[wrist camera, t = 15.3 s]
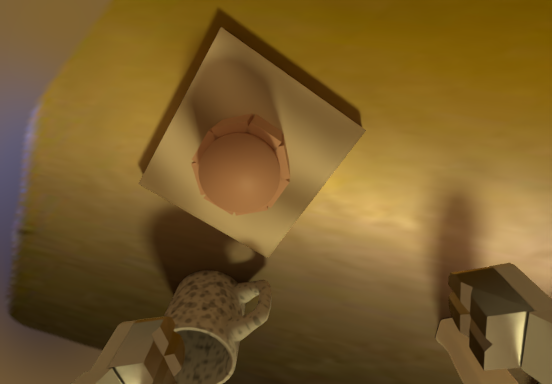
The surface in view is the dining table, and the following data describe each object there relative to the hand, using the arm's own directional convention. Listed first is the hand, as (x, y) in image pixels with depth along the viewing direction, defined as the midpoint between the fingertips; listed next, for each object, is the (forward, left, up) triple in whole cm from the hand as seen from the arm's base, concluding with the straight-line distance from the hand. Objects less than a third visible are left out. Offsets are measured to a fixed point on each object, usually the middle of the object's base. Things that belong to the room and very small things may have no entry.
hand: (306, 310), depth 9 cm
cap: (+1, -3, -15) cm, 16 cm away
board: (+1, -3, -17) cm, 17 cm away
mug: (+14, +2, -17) cm, 22 cm away
